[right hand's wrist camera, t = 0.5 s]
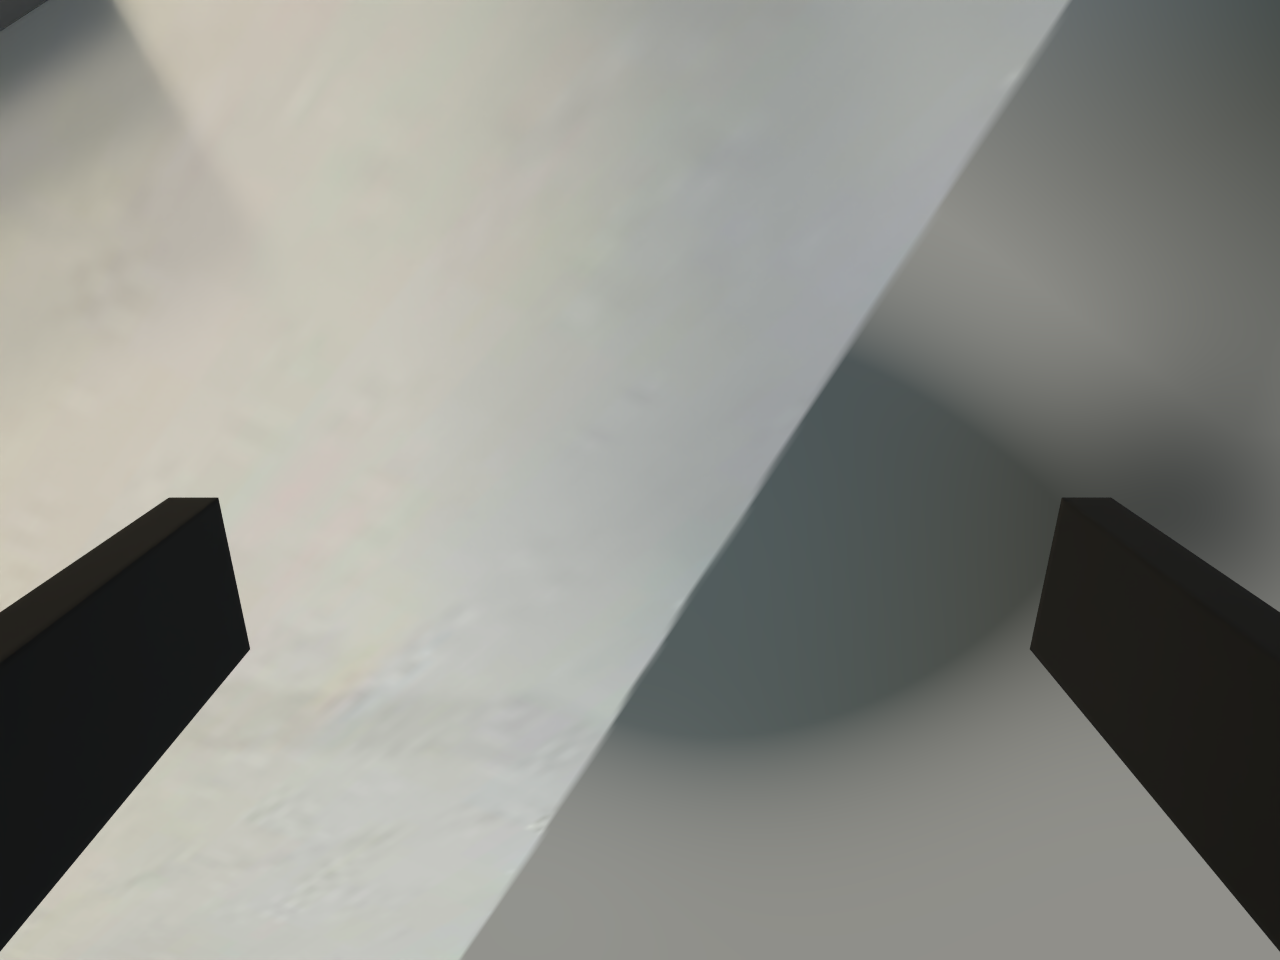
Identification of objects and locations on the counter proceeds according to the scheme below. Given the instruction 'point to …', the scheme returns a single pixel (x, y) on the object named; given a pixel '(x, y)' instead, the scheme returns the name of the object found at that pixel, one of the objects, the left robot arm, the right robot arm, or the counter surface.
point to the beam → (15, 10)
